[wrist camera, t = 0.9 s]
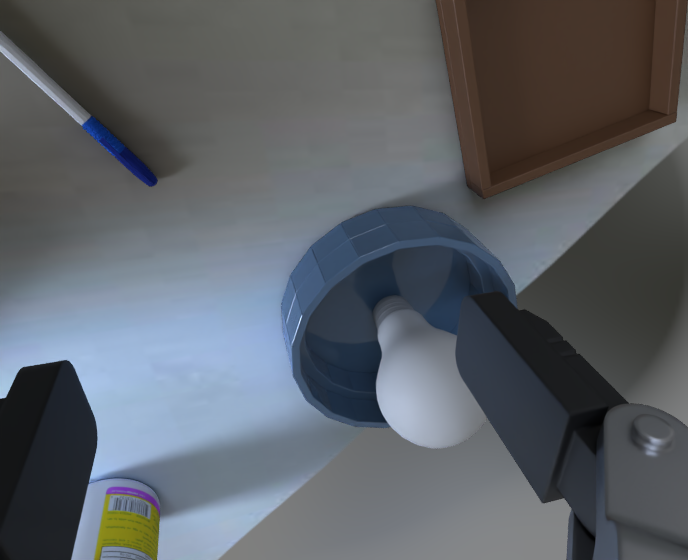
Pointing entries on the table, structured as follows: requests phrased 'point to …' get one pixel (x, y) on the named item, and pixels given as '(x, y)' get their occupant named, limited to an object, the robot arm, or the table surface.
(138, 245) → the table surface
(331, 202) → the table surface
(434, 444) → the lightbulb
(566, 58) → the tray
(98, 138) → the ballpoint pen
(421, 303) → the bowl
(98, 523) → the supplement bottle
